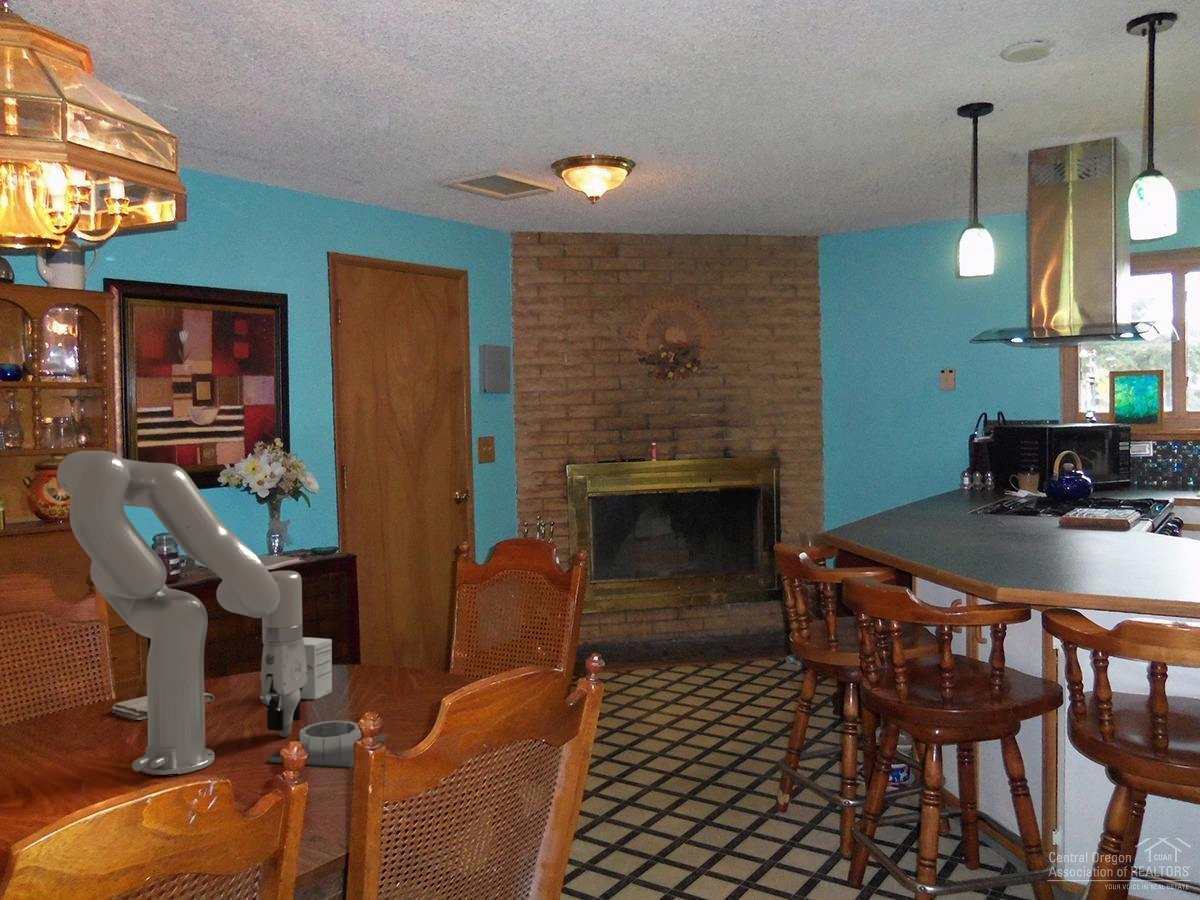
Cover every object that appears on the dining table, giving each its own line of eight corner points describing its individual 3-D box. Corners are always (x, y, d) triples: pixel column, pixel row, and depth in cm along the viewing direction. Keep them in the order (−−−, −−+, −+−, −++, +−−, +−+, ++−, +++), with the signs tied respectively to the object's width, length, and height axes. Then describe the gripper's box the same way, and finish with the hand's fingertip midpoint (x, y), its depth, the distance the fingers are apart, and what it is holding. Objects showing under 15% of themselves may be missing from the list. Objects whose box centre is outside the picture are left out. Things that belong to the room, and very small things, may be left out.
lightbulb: (261, 739, 189) (260, 683, 189) (284, 730, 194) (284, 676, 194) (284, 743, 186) (283, 686, 186) (307, 734, 192) (306, 679, 192)
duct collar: (350, 767, 172) (350, 745, 172) (269, 762, 176) (269, 740, 176) (387, 739, 188) (387, 719, 188) (312, 735, 191) (312, 715, 191)
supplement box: (286, 698, 218) (285, 643, 218) (305, 690, 225) (304, 636, 225) (315, 700, 216) (314, 644, 216) (333, 692, 223) (332, 637, 223)
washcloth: (107, 716, 207) (107, 702, 207) (184, 696, 222) (183, 683, 222) (139, 725, 201) (138, 710, 201) (215, 704, 216) (215, 690, 216)
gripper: (276, 644, 181) (278, 739, 181) (321, 625, 198) (322, 713, 198) (240, 642, 182) (242, 737, 183) (287, 624, 199) (289, 711, 200)
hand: (284, 724), depth 190 cm, fingers closed on lightbulb, 5 cm apart
